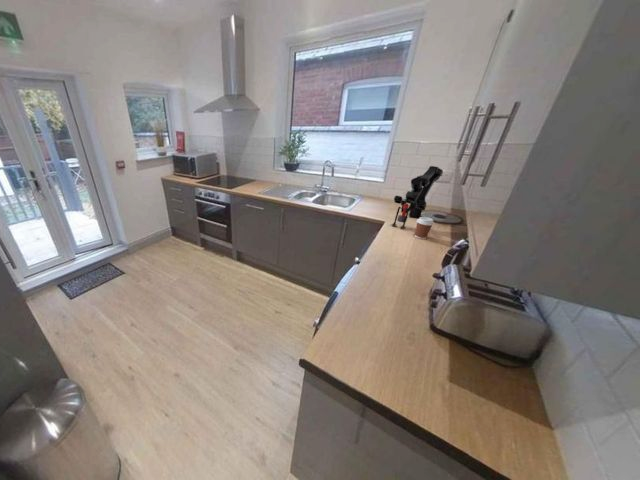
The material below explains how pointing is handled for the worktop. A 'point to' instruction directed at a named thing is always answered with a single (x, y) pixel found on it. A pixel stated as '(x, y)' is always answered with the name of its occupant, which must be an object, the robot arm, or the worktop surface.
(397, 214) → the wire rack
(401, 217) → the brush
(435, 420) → the worktop surface
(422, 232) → the coffee cup
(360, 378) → the worktop surface
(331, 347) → the worktop surface
